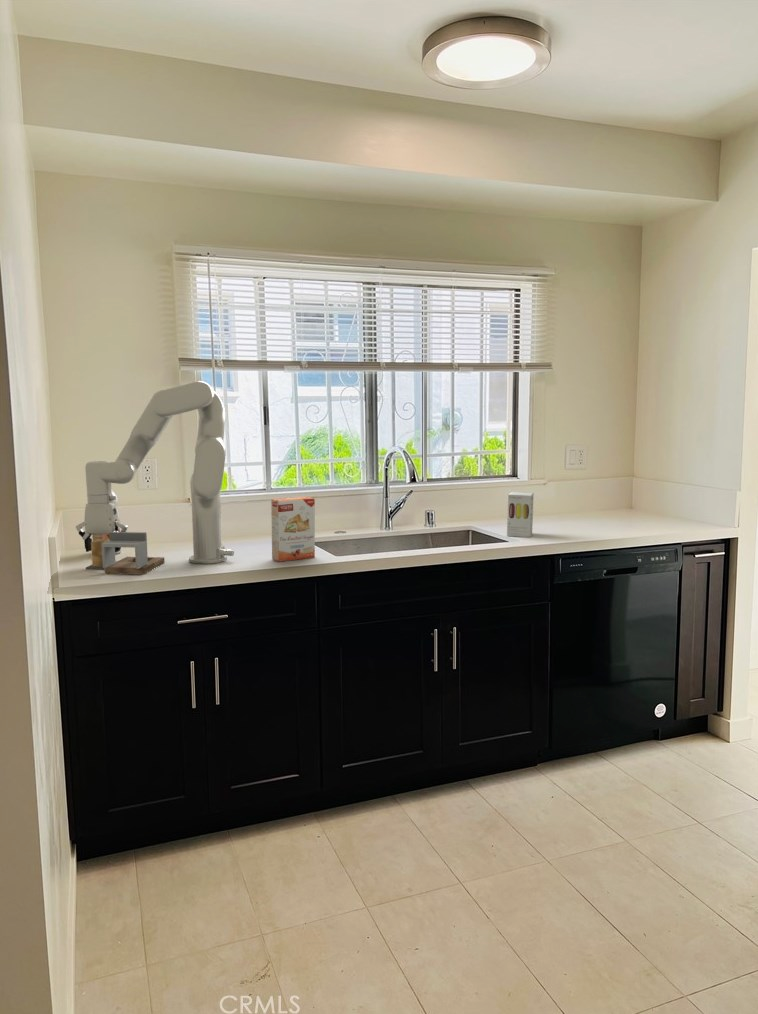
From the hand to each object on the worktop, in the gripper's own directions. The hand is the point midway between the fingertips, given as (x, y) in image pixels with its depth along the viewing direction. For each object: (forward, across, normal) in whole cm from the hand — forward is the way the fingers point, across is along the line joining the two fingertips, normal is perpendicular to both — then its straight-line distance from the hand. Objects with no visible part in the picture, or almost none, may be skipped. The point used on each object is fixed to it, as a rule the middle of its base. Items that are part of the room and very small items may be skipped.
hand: (103, 551), depth 245 cm
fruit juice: (+5, +9, -21) cm, 23 cm away
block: (+5, 0, 0) cm, 5 cm away
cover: (+3, -11, +8) cm, 14 cm away
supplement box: (+7, -140, -72) cm, 157 cm away
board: (+5, -11, +1) cm, 13 cm away
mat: (+5, 0, 0) cm, 5 cm away
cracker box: (+6, -59, -18) cm, 62 cm away
